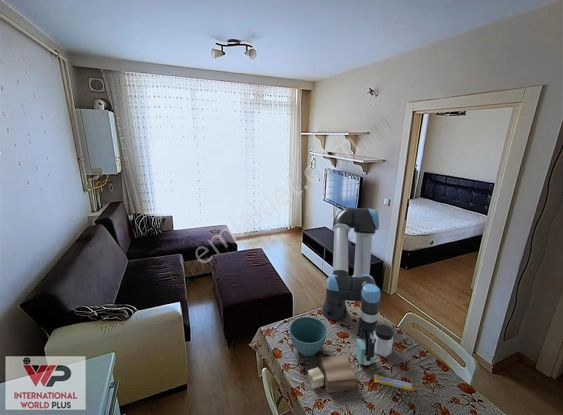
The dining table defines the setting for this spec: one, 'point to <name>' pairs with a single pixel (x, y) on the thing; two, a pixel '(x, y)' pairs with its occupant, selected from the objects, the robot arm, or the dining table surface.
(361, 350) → the teal block
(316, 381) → the cream cube
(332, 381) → the walnut block
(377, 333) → the jar
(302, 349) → the plant pot
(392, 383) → the candy bar
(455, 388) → the dining table surface
